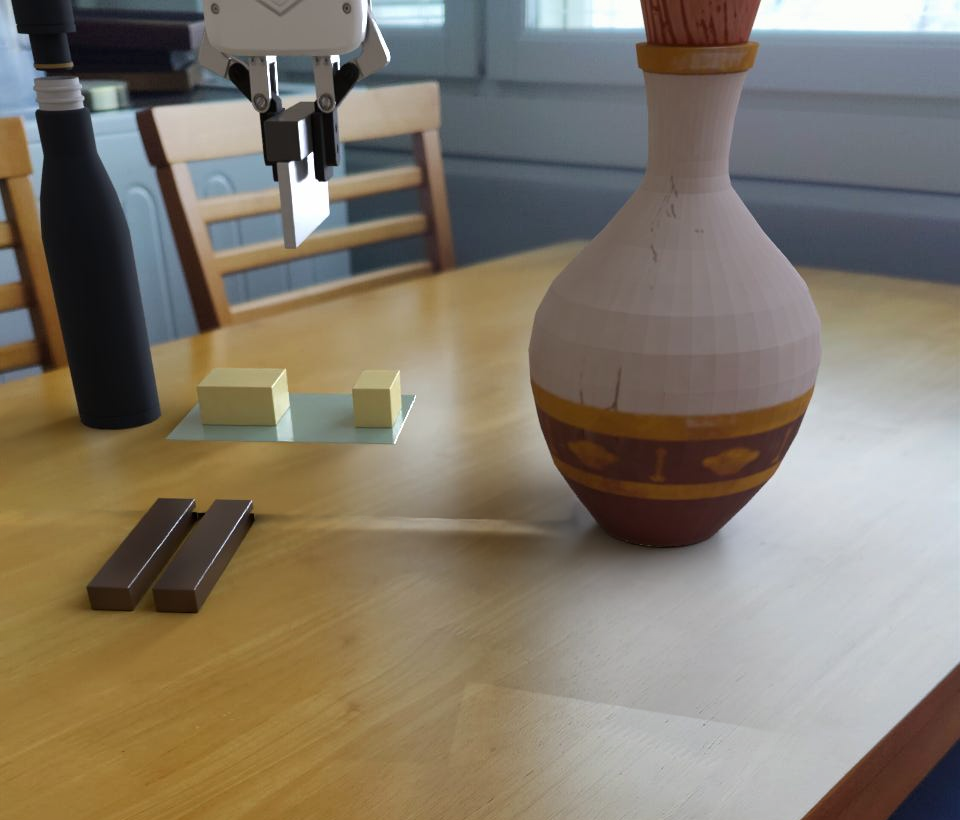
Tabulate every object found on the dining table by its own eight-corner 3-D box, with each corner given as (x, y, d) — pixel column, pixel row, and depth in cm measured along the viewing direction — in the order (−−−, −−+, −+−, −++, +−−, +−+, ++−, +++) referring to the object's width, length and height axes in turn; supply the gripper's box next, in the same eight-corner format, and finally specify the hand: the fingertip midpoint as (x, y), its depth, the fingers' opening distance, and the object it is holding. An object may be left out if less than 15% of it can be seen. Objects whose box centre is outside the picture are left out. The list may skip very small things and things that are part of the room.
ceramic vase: (574, 457, 92) (591, -33, 73) (814, 482, 87) (895, -36, 69) (490, 559, 77) (485, -21, 59) (772, 596, 72) (862, -23, 54)
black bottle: (123, 446, 95) (32, -25, 77) (66, 433, 98) (-36, -25, 79) (180, 423, 99) (105, -28, 81) (123, 411, 102) (39, -29, 84)
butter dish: (166, 452, 94) (164, 439, 93) (208, 403, 103) (206, 391, 103) (395, 456, 92) (394, 443, 92) (417, 406, 102) (416, 394, 101)
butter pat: (354, 427, 95) (351, 388, 93) (365, 407, 99) (362, 369, 97) (392, 428, 95) (390, 388, 93) (401, 408, 98) (399, 369, 97)
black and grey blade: (306, 249, 80) (296, 122, 75) (274, 248, 80) (261, 122, 75) (339, 215, 89) (331, 100, 85) (310, 214, 89) (300, 100, 85)
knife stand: (90, 609, 72) (85, 586, 71) (161, 518, 83) (158, 497, 82) (198, 613, 72) (194, 589, 71) (255, 520, 83) (252, 499, 82)
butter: (202, 424, 96) (196, 386, 94) (218, 404, 100) (213, 367, 98) (276, 426, 95) (271, 387, 94) (290, 406, 99) (286, 368, 97)
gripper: (122, -177, 69) (173, 187, 80) (400, -181, 68) (413, 189, 79) (161, -169, 75) (204, 169, 86) (417, -172, 74) (427, 171, 85)
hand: (303, 176), depth 82 cm, fingers closed on black and grey blade, 2 cm apart
